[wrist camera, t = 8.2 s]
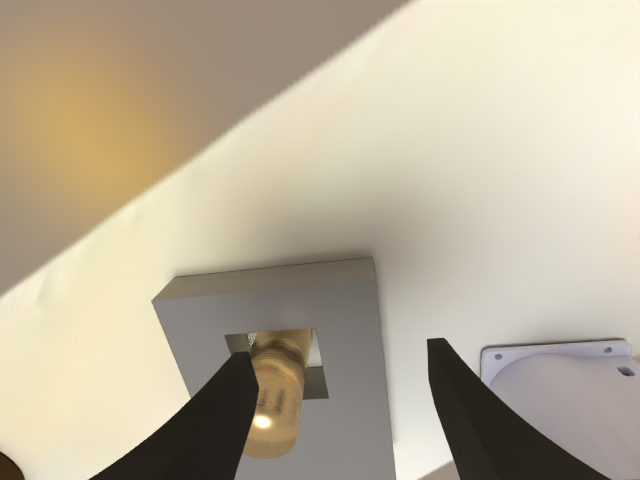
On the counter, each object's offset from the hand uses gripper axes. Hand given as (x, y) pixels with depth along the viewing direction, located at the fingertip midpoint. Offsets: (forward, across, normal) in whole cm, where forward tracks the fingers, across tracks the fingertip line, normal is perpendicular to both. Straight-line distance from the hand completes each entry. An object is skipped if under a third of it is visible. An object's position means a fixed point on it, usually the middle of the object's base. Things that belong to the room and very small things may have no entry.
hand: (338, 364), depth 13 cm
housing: (+9, +5, +9) cm, 14 cm away
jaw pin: (+9, +5, +6) cm, 12 cm away
